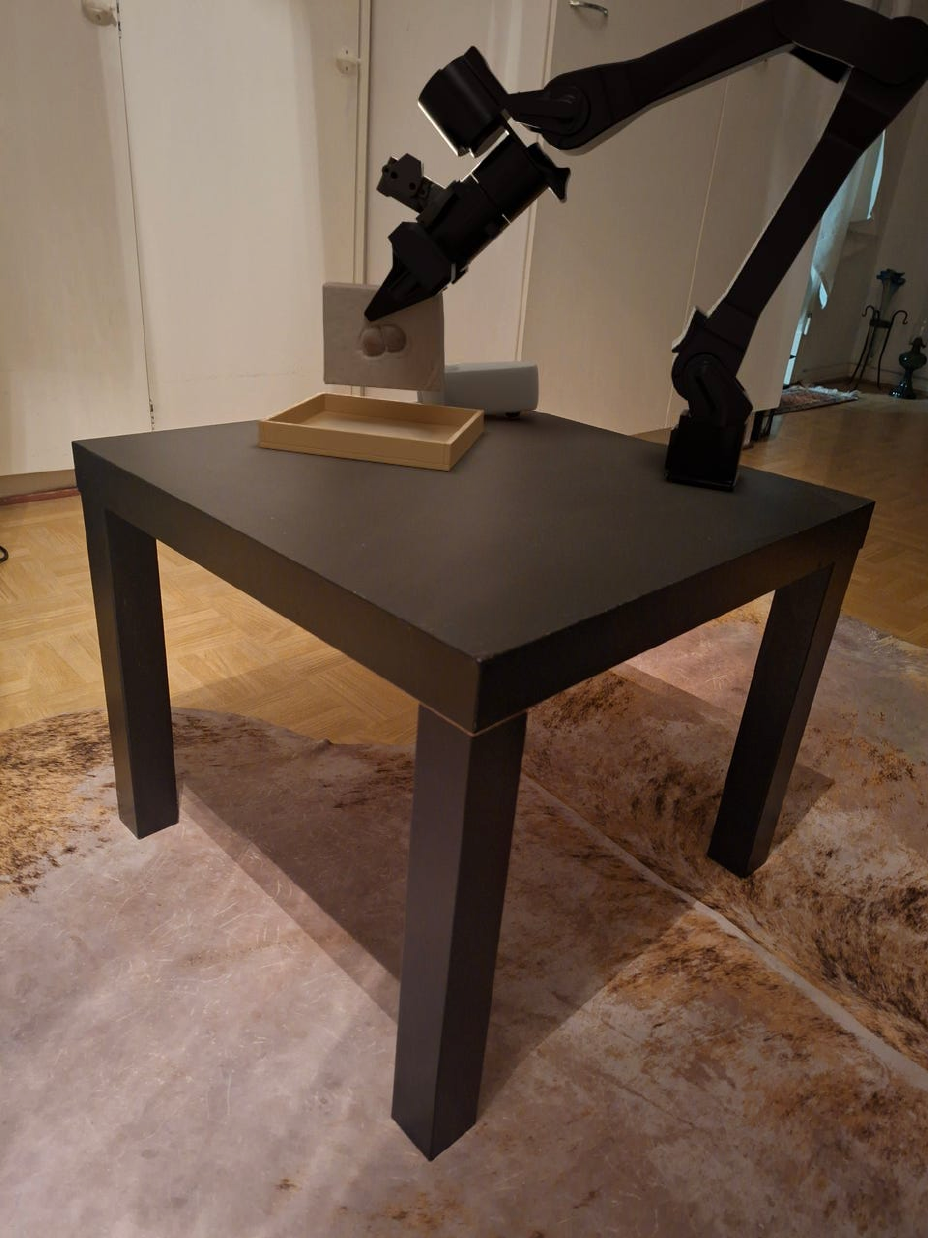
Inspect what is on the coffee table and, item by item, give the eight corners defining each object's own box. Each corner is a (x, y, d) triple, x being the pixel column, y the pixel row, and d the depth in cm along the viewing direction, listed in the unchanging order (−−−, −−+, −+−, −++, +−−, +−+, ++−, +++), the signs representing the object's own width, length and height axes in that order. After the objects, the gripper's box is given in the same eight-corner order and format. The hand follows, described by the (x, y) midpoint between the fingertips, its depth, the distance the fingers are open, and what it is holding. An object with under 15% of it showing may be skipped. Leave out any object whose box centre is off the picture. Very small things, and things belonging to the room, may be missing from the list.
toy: (412, 434, 98) (542, 428, 97) (408, 378, 95) (541, 372, 94) (420, 413, 109) (536, 408, 108) (417, 362, 106) (536, 357, 105)
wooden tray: (482, 433, 95) (484, 410, 94) (449, 471, 79) (450, 444, 78) (321, 414, 98) (321, 391, 97) (258, 447, 82) (257, 420, 81)
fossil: (322, 385, 84) (319, 283, 80) (331, 378, 87) (328, 280, 83) (440, 393, 83) (443, 290, 79) (445, 386, 86) (448, 287, 82)
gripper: (443, 134, 84) (334, 247, 89) (417, 110, 67) (285, 251, 72) (515, 226, 87) (406, 330, 92) (507, 225, 70) (374, 353, 75)
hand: (370, 316), depth 83 cm, fingers closed on fossil, 3 cm apart
